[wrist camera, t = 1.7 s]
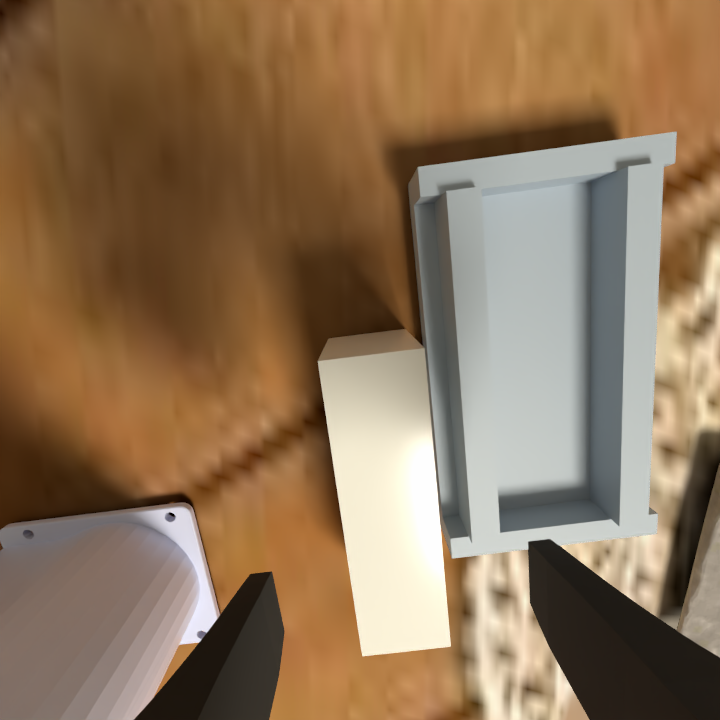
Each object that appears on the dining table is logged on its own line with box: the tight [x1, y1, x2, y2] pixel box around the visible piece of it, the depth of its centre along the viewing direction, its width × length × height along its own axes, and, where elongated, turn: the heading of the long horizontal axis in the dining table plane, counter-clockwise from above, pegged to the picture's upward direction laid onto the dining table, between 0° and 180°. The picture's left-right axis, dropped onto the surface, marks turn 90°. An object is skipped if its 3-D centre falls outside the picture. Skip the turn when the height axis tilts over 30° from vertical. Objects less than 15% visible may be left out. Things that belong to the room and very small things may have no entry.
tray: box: [408, 132, 677, 558], centre depth 15 cm, size 9×16×3 cm, turn 7°
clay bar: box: [318, 329, 451, 656], centre depth 16 cm, size 12×4×5 cm, turn 7°
